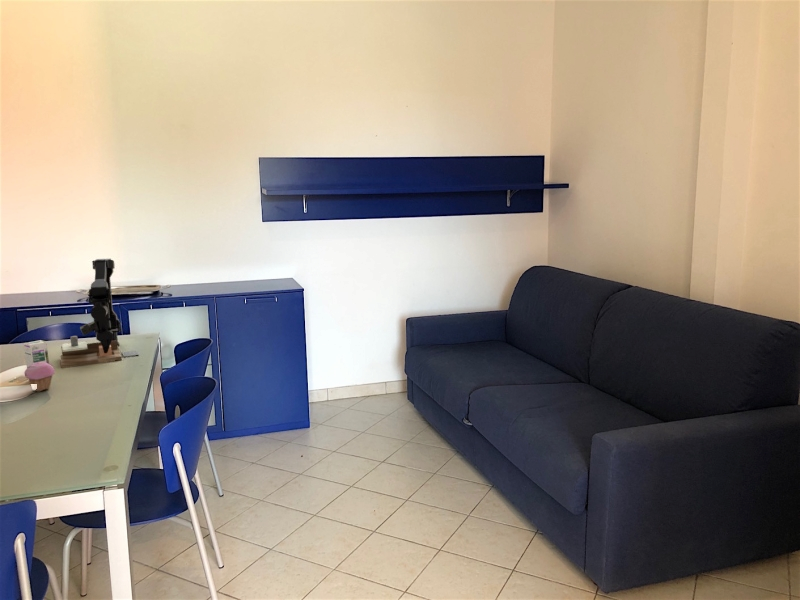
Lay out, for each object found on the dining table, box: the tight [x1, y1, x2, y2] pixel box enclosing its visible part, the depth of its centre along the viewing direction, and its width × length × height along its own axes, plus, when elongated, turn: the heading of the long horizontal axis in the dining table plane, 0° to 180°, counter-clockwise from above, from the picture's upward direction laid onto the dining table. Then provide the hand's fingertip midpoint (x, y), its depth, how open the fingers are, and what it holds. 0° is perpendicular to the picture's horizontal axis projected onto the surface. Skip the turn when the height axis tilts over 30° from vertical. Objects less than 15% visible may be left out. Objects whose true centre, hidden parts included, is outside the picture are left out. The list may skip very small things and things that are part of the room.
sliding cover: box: [61, 335, 88, 353], centre depth 248 cm, size 12×9×5 cm
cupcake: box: [24, 362, 55, 392], centre depth 209 cm, size 9×9×10 cm
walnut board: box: [60, 340, 123, 369], centre depth 250 cm, size 16×22×5 cm
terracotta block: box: [99, 345, 112, 356], centre depth 252 cm, size 4×4×5 cm
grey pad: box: [121, 350, 140, 358], centre depth 257 cm, size 8×6×1 cm
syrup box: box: [23, 339, 50, 369], centre depth 221 cm, size 6×6×14 cm
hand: (105, 351), depth 252 cm, fingers open, 5 cm apart
